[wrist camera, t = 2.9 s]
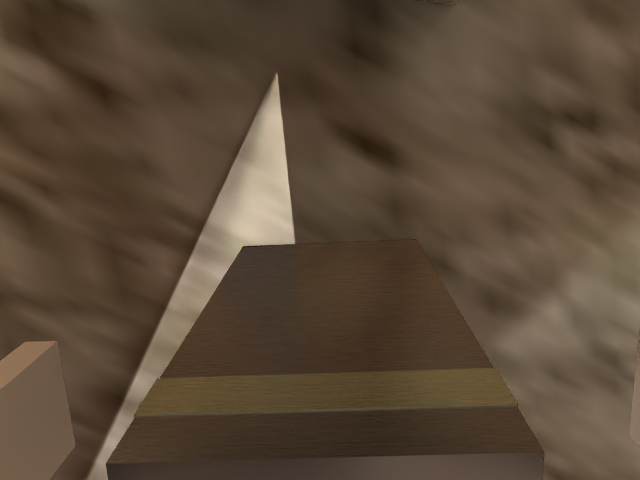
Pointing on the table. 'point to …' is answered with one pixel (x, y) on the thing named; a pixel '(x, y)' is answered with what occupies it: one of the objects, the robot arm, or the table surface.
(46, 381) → the robot arm
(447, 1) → the grey-green storage box
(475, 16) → the table surface
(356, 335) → the column
